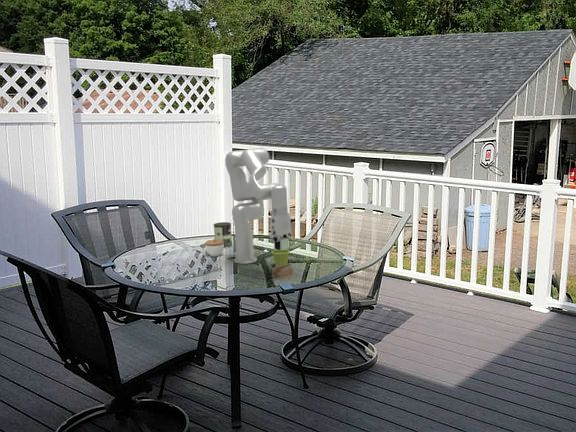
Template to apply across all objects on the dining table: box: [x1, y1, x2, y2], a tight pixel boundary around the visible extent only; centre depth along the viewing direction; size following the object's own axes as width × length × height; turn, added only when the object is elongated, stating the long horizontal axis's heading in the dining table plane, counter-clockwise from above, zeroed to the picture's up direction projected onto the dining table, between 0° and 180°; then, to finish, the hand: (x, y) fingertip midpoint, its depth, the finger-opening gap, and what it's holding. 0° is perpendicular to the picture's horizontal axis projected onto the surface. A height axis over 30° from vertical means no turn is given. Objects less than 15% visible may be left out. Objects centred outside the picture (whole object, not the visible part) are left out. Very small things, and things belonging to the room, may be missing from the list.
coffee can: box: [213, 221, 233, 249], centre depth 361 cm, size 10×10×14 cm
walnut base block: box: [271, 265, 293, 279], centre depth 294 cm, size 7×7×4 cm
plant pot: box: [271, 249, 291, 267], centre depth 312 cm, size 9×9×9 cm
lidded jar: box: [204, 238, 224, 257], centre depth 343 cm, size 11×11×9 cm
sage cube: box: [273, 236, 290, 250], centre depth 291 cm, size 5×5×5 cm
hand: (281, 247), depth 292 cm, fingers closed on sage cube, 5 cm apart
